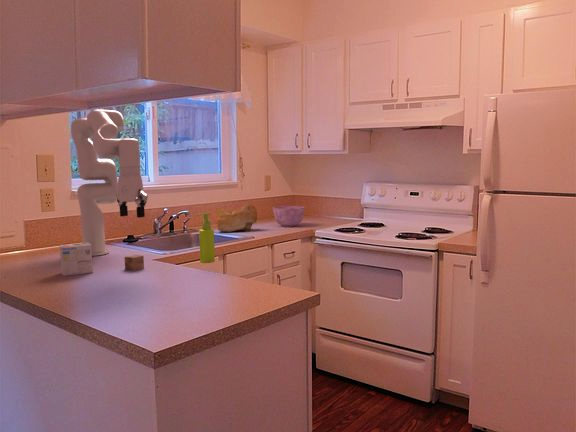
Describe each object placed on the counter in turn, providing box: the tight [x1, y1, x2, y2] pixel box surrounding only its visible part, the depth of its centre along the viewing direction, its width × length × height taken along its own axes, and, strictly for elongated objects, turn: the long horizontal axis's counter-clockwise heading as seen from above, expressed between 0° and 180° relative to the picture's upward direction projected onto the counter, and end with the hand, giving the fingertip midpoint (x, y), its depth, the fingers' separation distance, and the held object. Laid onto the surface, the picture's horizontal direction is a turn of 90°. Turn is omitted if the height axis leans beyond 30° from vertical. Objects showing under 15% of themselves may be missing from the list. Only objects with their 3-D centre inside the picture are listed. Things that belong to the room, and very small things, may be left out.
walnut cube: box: [124, 254, 145, 271], centre depth 199 cm, size 5×5×5 cm
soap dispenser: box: [195, 212, 216, 264], centre depth 210 cm, size 6×7×20 cm
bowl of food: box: [272, 205, 306, 228], centre depth 318 cm, size 20×20×12 cm
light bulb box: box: [59, 242, 94, 277], centre depth 193 cm, size 11×7×11 cm, turn 119°
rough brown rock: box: [216, 204, 258, 233], centre depth 302 cm, size 23×17×15 cm
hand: (132, 216), depth 197 cm, fingers open, 9 cm apart
